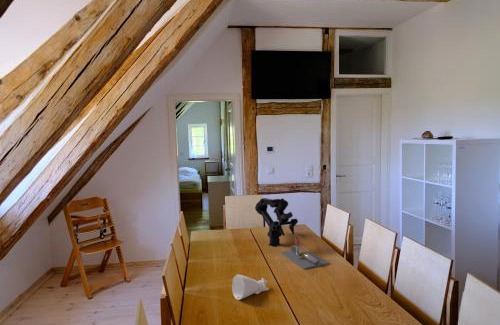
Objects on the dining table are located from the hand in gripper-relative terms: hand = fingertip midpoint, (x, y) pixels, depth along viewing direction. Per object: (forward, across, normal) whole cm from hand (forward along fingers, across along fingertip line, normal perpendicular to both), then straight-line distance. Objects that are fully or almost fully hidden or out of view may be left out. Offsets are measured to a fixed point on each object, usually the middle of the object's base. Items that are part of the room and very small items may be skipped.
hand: (288, 234), depth 212 cm
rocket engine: (+37, -44, -17) cm, 60 cm away
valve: (+17, +5, +2) cm, 18 cm away
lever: (+15, 0, 0) cm, 15 cm away
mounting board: (+17, +5, +2) cm, 18 cm away
